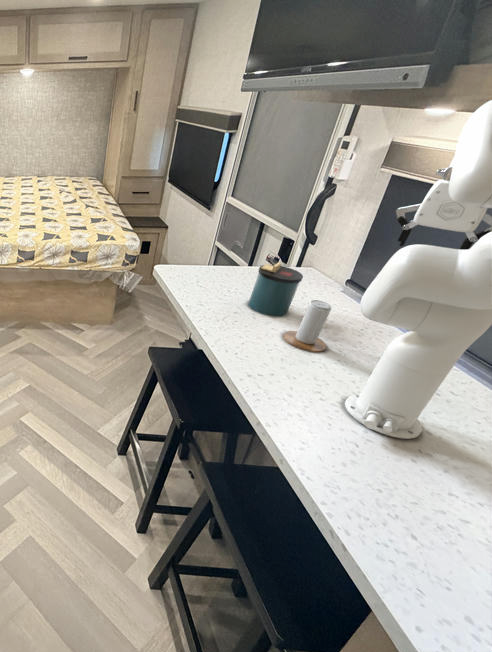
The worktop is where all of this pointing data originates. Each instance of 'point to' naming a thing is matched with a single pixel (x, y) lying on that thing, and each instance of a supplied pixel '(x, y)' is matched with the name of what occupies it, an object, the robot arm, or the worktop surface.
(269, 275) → the teal cylinder tin
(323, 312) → the beverage can
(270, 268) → the slider
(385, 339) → the worktop surface
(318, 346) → the coaster
